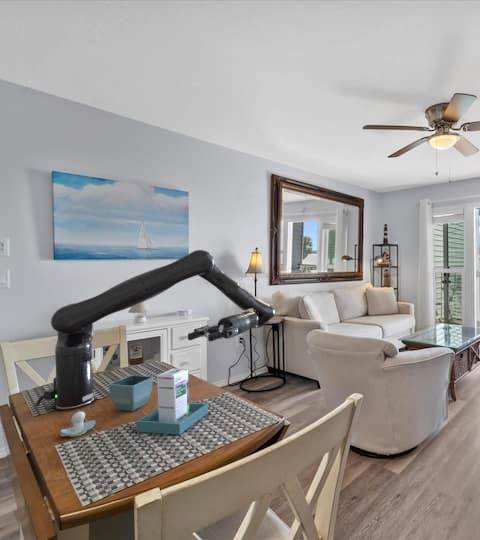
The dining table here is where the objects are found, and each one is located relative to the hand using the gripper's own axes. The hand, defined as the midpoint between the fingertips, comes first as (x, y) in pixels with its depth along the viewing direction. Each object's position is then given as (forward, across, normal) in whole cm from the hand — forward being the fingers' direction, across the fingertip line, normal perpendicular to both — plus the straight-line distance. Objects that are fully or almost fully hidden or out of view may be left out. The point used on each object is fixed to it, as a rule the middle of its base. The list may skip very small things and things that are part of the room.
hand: (198, 337), depth 106 cm
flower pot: (+9, -22, +22) cm, 32 cm away
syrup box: (+11, 0, +22) cm, 24 cm away
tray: (+11, 0, +22) cm, 25 cm away
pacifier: (+25, -20, +21) cm, 38 cm away
